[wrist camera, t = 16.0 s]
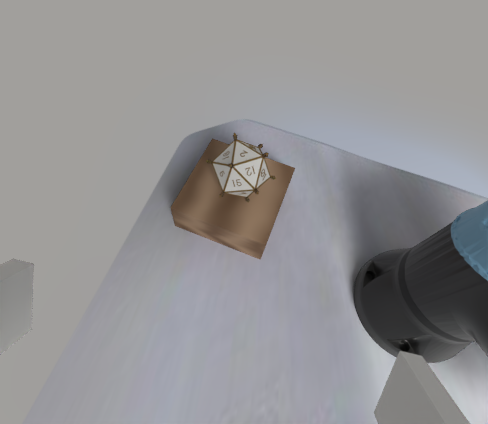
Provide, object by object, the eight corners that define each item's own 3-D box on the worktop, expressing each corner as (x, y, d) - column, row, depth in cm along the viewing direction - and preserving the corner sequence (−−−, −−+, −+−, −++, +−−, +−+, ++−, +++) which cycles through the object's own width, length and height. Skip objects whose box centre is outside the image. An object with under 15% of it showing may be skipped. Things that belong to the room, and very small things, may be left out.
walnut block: (286, 189, 51) (295, 168, 46) (259, 260, 44) (265, 244, 39) (212, 162, 52) (212, 138, 47) (175, 227, 46) (170, 207, 40)
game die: (228, 192, 47) (214, 129, 42) (281, 187, 44) (272, 120, 40) (210, 220, 39) (190, 146, 35) (273, 216, 37) (260, 137, 32)
